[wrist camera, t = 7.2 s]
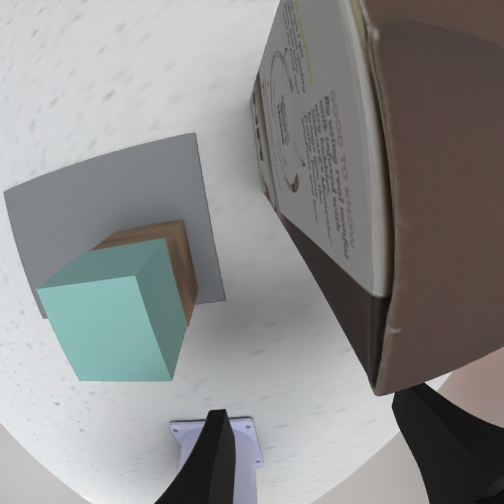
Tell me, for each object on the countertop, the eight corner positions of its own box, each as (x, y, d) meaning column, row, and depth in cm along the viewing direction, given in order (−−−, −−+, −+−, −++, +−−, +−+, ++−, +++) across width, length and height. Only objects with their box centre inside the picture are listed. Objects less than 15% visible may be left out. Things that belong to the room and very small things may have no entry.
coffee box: (262, 198, 18) (353, 416, 3) (248, 95, 16) (287, -121, 1) (396, 184, 18) (615, 279, 3) (387, 91, 16) (611, 51, 1)
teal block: (187, 323, 16) (172, 380, 11) (109, 330, 16) (79, 380, 11) (165, 237, 14) (135, 275, 10) (82, 252, 14) (36, 289, 10)
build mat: (225, 298, 20) (225, 300, 20) (44, 317, 21) (43, 318, 20) (195, 133, 17) (194, 132, 17) (5, 191, 17) (3, 191, 17)
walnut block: (198, 289, 20) (188, 326, 16) (133, 297, 20) (111, 332, 16) (183, 219, 18) (166, 240, 14) (114, 231, 18) (84, 255, 14)
